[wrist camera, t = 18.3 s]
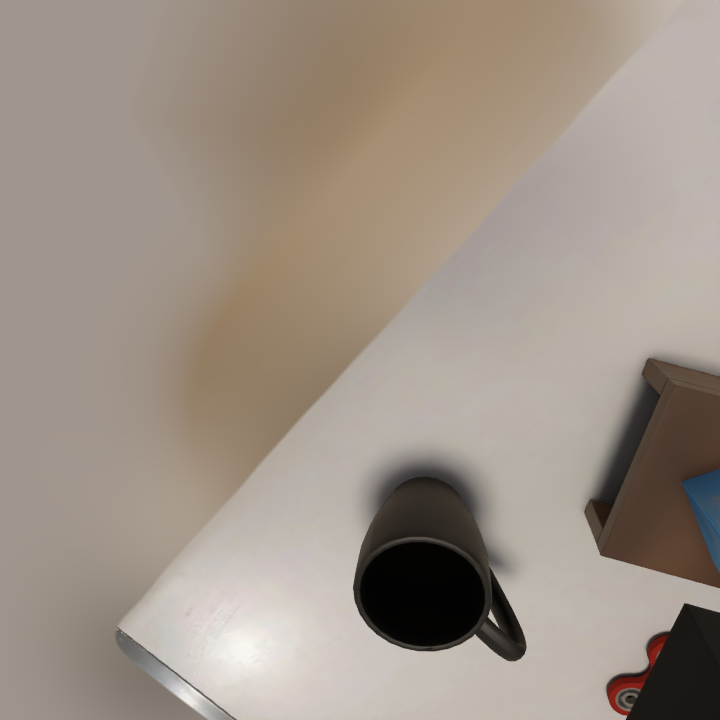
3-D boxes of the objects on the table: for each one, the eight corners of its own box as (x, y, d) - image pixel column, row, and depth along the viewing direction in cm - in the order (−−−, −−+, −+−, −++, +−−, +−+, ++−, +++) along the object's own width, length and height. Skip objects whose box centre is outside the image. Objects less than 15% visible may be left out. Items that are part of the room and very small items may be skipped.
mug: (467, 606, 48) (473, 710, 39) (347, 511, 47) (325, 596, 38) (545, 541, 46) (570, 635, 37) (420, 438, 44) (415, 510, 35)
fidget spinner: (664, 624, 46) (670, 637, 45) (746, 672, 47) (754, 686, 46) (597, 692, 49) (601, 706, 48) (676, 737, 49) (682, 752, 48)
